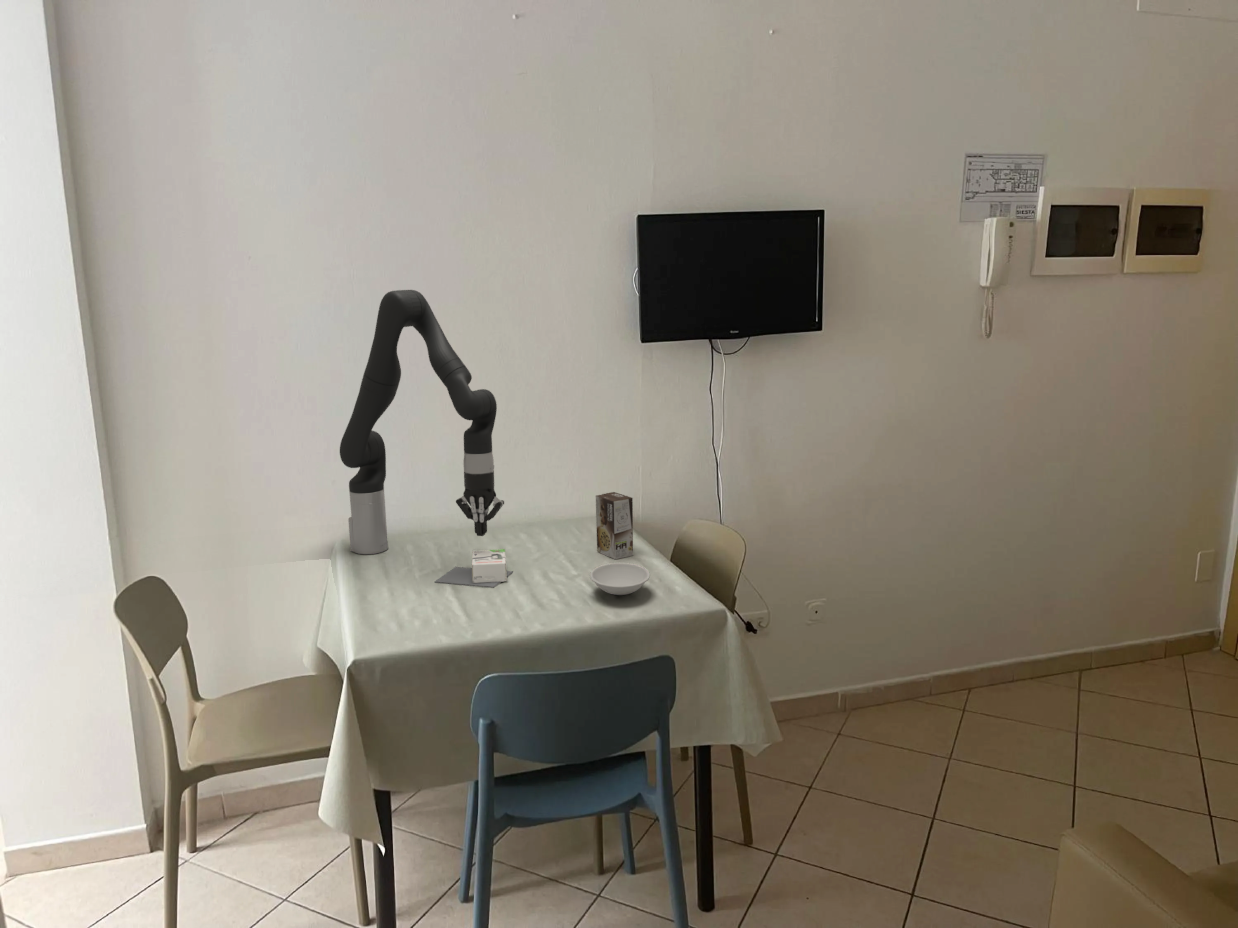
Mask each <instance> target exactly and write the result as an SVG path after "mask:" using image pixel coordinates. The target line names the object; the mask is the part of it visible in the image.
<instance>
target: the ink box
mask: <svg viewBox="0 0 1238 928" xmlns="http://www.w3.org/2000/svg"><path fill="white" fill-rule="evenodd" d="M471 553H472V554H471V568H472V581H473V583H483V582H501V583H502V582H503V583H504V582H507V581H508V577H507V571H508V570H507V569H508V568H507V557H506V549H505V548H500V549H484V550H483V549H482V550H480V549H479V550H472V551H471Z"/></svg>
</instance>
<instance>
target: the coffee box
mask: <svg viewBox="0 0 1238 928" xmlns="http://www.w3.org/2000/svg"><path fill="white" fill-rule="evenodd" d="M633 500H634V497H631V496H628V495H625V494H621V493H618V492H615V491H611V492H605V493H602V494H598V495H595V518H596V519H595V522H596V523H595V524H596V550H597V551H596V552H597V553H599V554H602V555H604V556H606V557H608V558H611V559H612V560H613V559H614V560H617V559H622V558H623V559H624V558H628V557H632V556H634V534H633V533H634V525H633V523H634V522H633V521H634V516H633V513H634V511H633V505H634V504H633Z"/></svg>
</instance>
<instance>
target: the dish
mask: <svg viewBox="0 0 1238 928" xmlns="http://www.w3.org/2000/svg"><path fill="white" fill-rule="evenodd" d="M588 575H589V579H590V581H592V582H593V583H594V584H595V585H596V586H597V587H598V588H600V590H602V591H603V592H606V593H607V594H610V595H615V596H623V595H630V594H632V593H634V592H636V591H638V590H639V589H641V588H642V587H643V585H644V584H645V583H646V582H648V581H649V580H650V577H651V573H650V571H649V570H648V569H647V568H646V567H645V566H642V565H639V564H635V563H633V562H632V563H631V562H611V563H610V562H609V563H604V564H601V565H598V566H596V567H594V568H592V569H591V571H589V574H588Z"/></svg>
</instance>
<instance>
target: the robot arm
mask: <svg viewBox="0 0 1238 928" xmlns="http://www.w3.org/2000/svg"><path fill="white" fill-rule="evenodd" d="M408 327H412V328H414V329H415V330H416V332H418V334H419V335H420V336H421V337H422V339H423V341H424V343H425V345H426V349H427V355H428V360H429V362H430V365H431V368H432V369H433V372H434V373H435V374H436V375H437V377H438V379H440V381H441V382H442V384H443V385H444V386H445V388H446V390H447V392H448V396H449V398H450V400H451V403H452V405H453V408H454V410H455V411H456V413H457V414H458V415H459V416H460V417H461V418H463V419H464V420H467V421H471V425H470V426H469V427H468V428H467V429H465V431H464V432H463V463H462V464H463V481H464V482H463V483H464V485H463V486H464V491H463V494H462V496H461V497H459V498H457V499H456V500H455V503H456V505H457V506H458V507H459V509H460V510H461V512H462V513H463V515H465V516H466V518H467V520H472V521H473V522H474V523H473V524H474V532H475V534H476V536H477V537H483V536H485V535H486V534H487V532H488V522H489V521H491V520H492V519H494V518H495V516H496V515H497V514H498V512H499V511H500V510H501V509H502V508H503V506H504V505H505V500H502V499H499V498H498V497H497V493H496V491H495V464H494V462H495V461H494V456H493V455H494V454H493V440H492V439H493V438H492V437H493V430H494V425H495V422H496V416H497V407H498V406H497V405H498V404H497V400H496V397H495V395H494V394H493V393H492V391H490V390H488V389H485V388H484V389H483V388H481V389H477V390H472V389H471V388H470V386H469V384H470V383H471V381H472V378H473V377H472V373H471V372H470V370H469V369H468V367H467V366H466V365H465V364H464V362H463V361H462V360H461V358H460V356H459V354H457V353H456V351H455V350H454V349H453V347H452V345H451V343H450V342H449V340H448V339H447V336H446V335H445V333H444V331H443V329H442V327H441V325H440V323H439V321H438V319H437V317H436V315H435V314H434V312H433V310H432V308H431V306H430V303H429V302H428V301H427V299H426V297H425V296H424V295H423V294H422V293H421V292H419V291H417V290H415V289H398V290H392V291H388V292H386V293H385V295H384V296H383V297H382V299H381V301H380V303H379V308H378V312H377V317H376V323H375V330H374V335H373V340H372V344H371V348H370V352H369V356H368V359H367V363H366V366H365V369H364V372H363V376H362V378H361V382H360V387H359V390H358V391H359V392H358V395H357V397H356V401H355V404H354V408H353V410H352V413H351V416H350V419H349V422H348V424H347V426H346V428H345V430H344V433H343V435H342V438H341V441H340V445H339V456H340V460H341V462H342V463H343V464H344V466H346V467H347V468H349V469H358V468H359V470H358V471H357V473H356V474H355V475H354V476H353V477H352V478H350V480H349V481H348V491H349V503H350V505H349V506H350V517H349V518H348V520H347V521H348V532H349V534H348V535H349V546H350V547H349V548H350V552H352V553H353V552H354V553H356V554H357V555H358V554H359V555H373V554H374V555H375V554H379V553H383V552H386V551H387V550H388V549H389V546H388V526H387V512H386V499H385V482H386V479H387V478H386V476H387V465H386V463H387V461H386V460H387V458H386V457H387V456H386V455H387V454H386V452H387V451H386V446H385V442H384V439H383V437H382V436H381V434H380V433H378V432H377V431H375V430H373V428H374V426H375V425H376V423H377V421H379V419H380V418H381V417H382V415H383V414H384V413H385V412H386V411H387V409H388V408H389V407H390V405H391V404H392V403H393V400H394V399H395V397H396V394H397V391H398V389H399V385H400V383H401V382H400V381H401V378H402V369H401V364H400V359H399V356H398V355H399V354H398V344H399V340H400V337H401V333H402V331H403V329H404V328H408ZM491 505H492V509H490V506H491ZM489 510H490V511H489Z"/></svg>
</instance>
